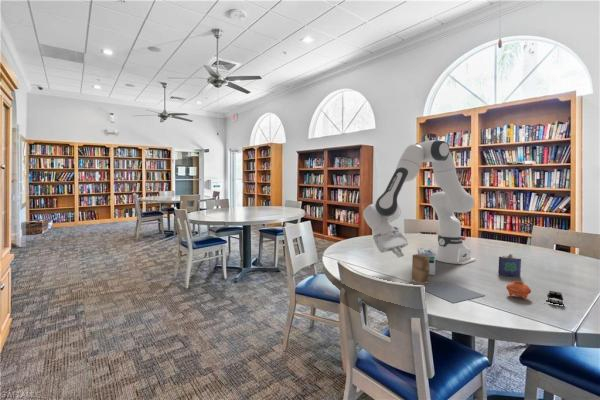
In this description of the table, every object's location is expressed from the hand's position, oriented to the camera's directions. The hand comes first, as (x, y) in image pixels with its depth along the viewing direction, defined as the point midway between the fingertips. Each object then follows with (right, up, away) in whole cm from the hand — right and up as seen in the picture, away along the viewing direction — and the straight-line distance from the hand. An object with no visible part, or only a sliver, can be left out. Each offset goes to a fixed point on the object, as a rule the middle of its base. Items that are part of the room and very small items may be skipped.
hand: (401, 256), depth 144 cm
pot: (+38, -12, -24) cm, 47 cm away
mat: (+14, -11, -19) cm, 26 cm away
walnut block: (+6, -10, -7) cm, 14 cm away
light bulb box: (+15, -9, +8) cm, 19 cm away
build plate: (+48, -13, -30) cm, 58 cm away
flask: (+53, -10, +2) cm, 54 cm away
